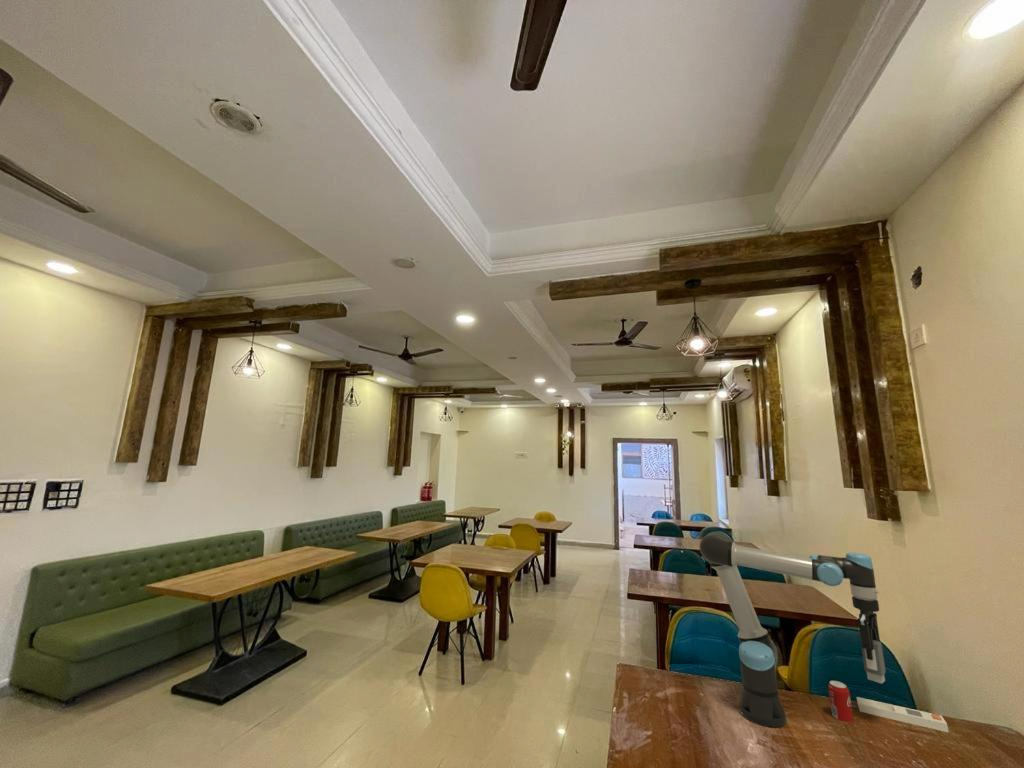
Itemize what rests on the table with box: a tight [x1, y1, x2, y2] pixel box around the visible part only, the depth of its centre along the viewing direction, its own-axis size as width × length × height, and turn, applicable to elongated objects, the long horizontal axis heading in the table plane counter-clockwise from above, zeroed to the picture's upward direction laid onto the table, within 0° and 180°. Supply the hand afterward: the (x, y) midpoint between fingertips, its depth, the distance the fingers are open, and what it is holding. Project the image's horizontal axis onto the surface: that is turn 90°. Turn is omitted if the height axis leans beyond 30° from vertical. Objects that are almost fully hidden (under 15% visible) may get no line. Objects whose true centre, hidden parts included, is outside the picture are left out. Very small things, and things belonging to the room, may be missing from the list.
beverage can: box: [827, 680, 854, 724], centre depth 154 cm, size 6×6×12 cm
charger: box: [860, 640, 886, 684], centre depth 151 cm, size 5×5×13 cm
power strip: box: [851, 696, 950, 733], centre depth 154 cm, size 27×6×4 cm, turn 58°
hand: (874, 666), depth 151 cm, fingers closed on charger, 5 cm apart
